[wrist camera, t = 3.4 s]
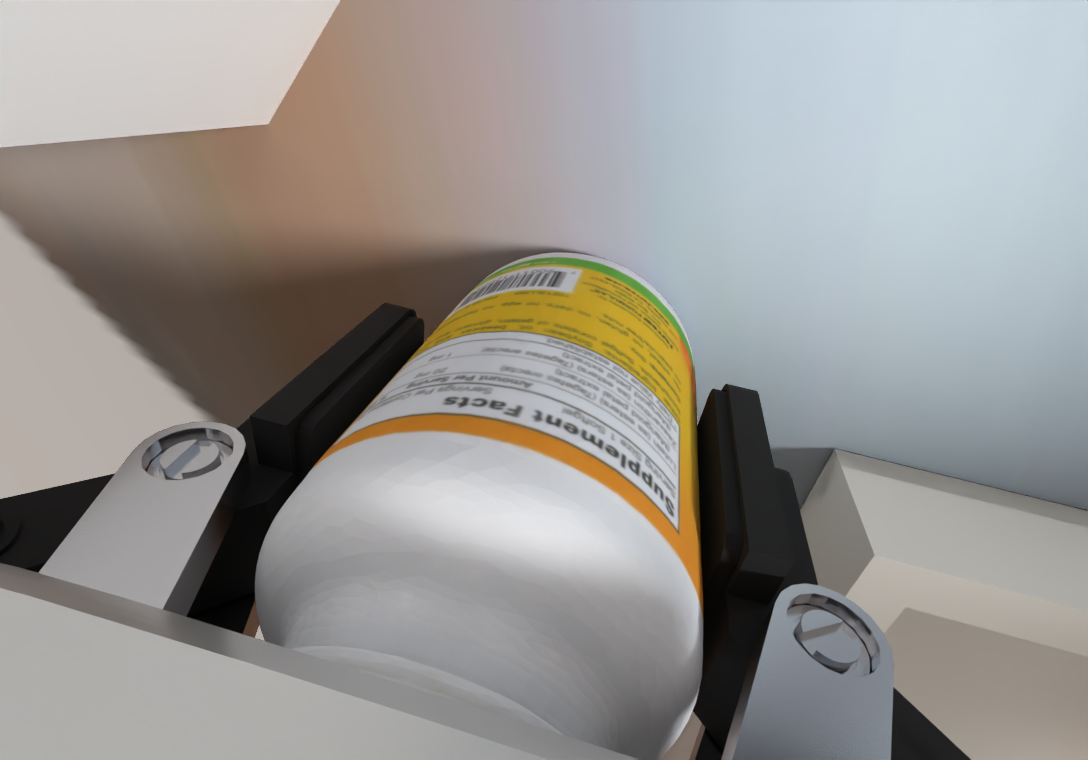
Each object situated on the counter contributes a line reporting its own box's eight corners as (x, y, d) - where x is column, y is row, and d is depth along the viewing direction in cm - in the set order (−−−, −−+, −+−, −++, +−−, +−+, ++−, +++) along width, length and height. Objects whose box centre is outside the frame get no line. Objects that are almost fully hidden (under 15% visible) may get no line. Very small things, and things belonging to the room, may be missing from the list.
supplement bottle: (603, 493, 14) (488, 1109, 6) (421, 381, 13) (15, 887, 5) (751, 342, 11) (930, 1142, 3) (526, 191, 11) (-10, 663, 2)
